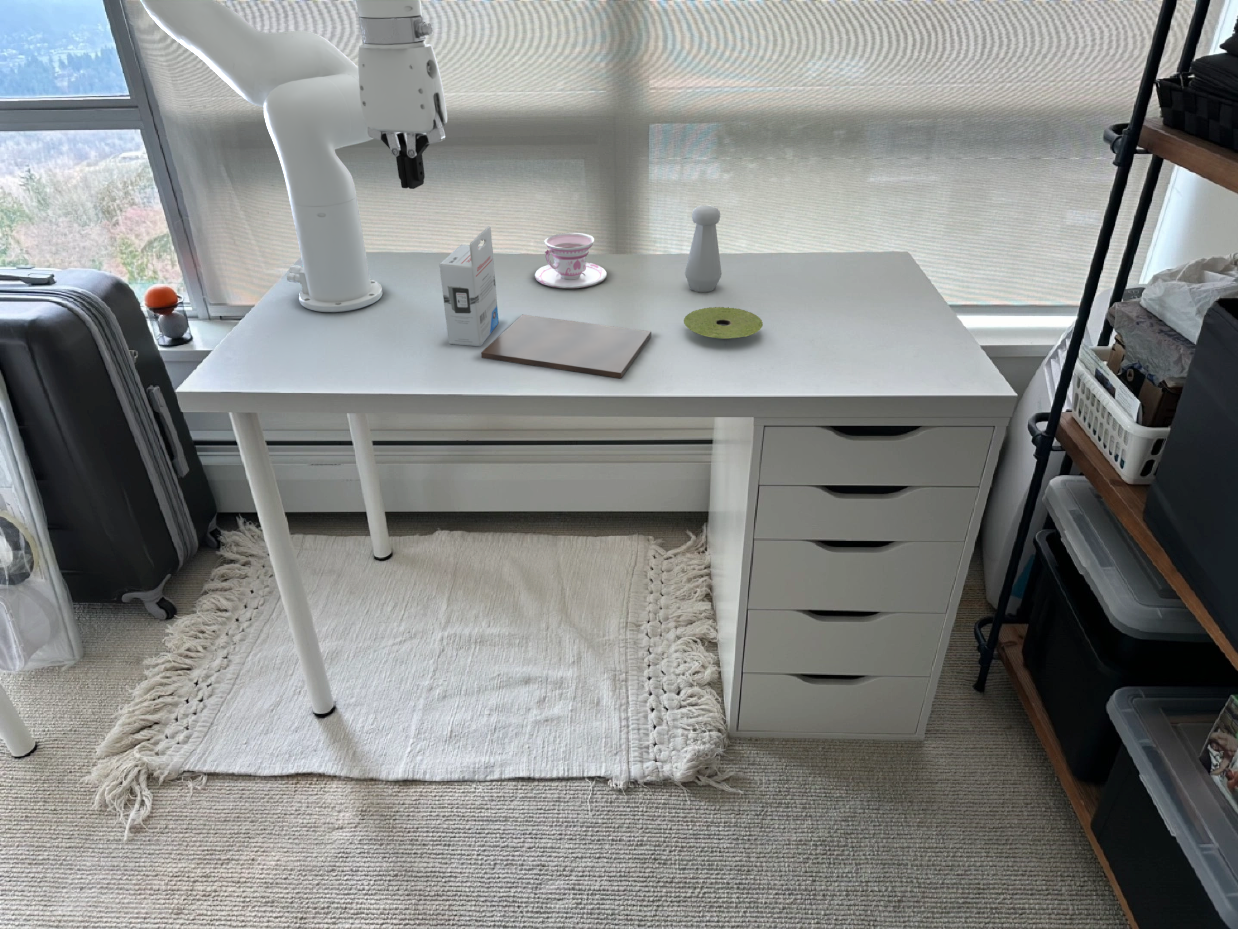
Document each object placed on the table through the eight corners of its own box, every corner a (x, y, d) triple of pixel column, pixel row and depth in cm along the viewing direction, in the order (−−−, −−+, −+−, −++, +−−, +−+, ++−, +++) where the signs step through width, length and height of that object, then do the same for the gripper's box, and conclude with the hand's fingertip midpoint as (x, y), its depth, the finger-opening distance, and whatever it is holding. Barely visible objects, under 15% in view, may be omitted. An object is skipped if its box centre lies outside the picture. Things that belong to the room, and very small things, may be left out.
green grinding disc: (743, 356, 117) (744, 343, 116) (669, 340, 122) (670, 327, 120) (773, 327, 125) (774, 315, 124) (703, 313, 130) (703, 301, 129)
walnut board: (481, 357, 117) (480, 352, 116) (522, 319, 128) (522, 314, 127) (621, 378, 111) (621, 372, 111) (651, 336, 123) (651, 331, 122)
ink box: (468, 320, 127) (458, 221, 119) (500, 323, 127) (491, 224, 119) (447, 344, 120) (435, 241, 112) (480, 347, 119) (470, 243, 112)
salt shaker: (726, 285, 140) (732, 205, 133) (710, 296, 135) (715, 214, 128) (694, 278, 142) (698, 199, 135) (677, 289, 138) (681, 208, 131)
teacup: (575, 259, 150) (574, 224, 147) (621, 277, 143) (621, 241, 139) (520, 276, 143) (517, 239, 140) (566, 295, 136) (564, 257, 132)
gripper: (462, 31, 105) (476, 183, 115) (356, 28, 109) (379, 175, 119) (432, 37, 99) (450, 197, 109) (322, 34, 103) (348, 189, 113)
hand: (413, 185), depth 114 cm, fingers closed
